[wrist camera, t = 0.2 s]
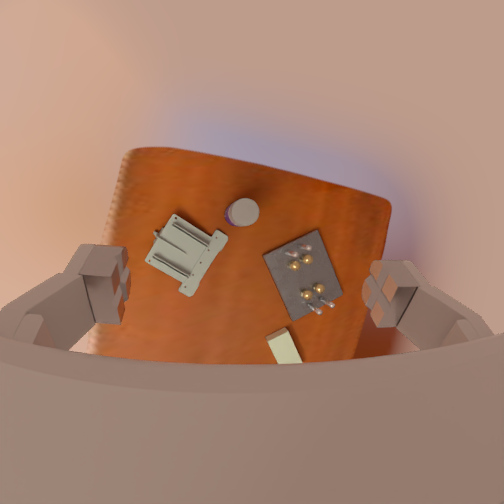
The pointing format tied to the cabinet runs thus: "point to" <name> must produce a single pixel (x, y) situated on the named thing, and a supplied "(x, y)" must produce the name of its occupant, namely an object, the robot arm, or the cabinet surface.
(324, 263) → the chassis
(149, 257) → the metal bracket
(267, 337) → the board
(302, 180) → the cabinet surface
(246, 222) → the container
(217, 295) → the cabinet surface
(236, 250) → the cabinet surface
